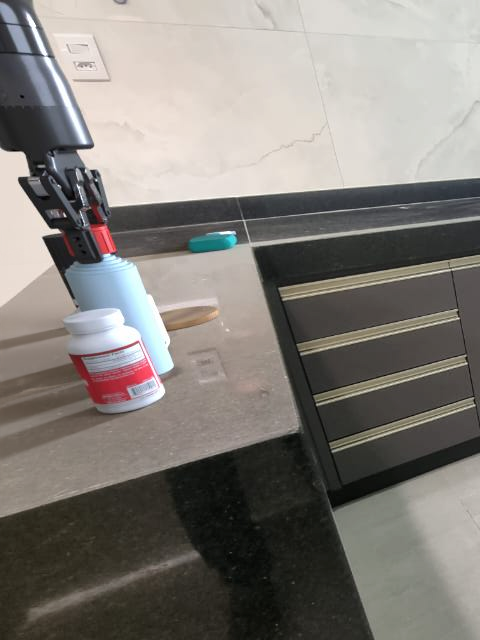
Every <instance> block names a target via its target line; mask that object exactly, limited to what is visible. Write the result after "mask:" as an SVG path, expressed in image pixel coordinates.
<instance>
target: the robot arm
mask: <svg viewBox="0 0 480 640" xmlns="http://www.w3.org/2000/svg"><path fill="white" fill-rule="evenodd" d="M83 115H84V114H83V113H82V111H81V108H80V106H79V103H78V101H77V99H76V96H75V93H74V91H73V89H72V86H71V84H70V82H69V80H68V78H67V76H66V75H65V73H64V71H63V69H62V68H61V66H60V64H59V62H58V60H57V58H56V55H55V53H54V50H53V48H52V45H51V42H50V40H49V38H48V36H47V33H46V30H45V29H44V26H43V24H42V22H41V19H40V18H39V16H38V14H37V12H36V9H35V4H34V0H0V149H1V150H2V151H4V152H6V153H7V152H8V153H19V152H20V153H23V154H24V155H25V159H26V164H27V168H28V174H29V176H18V177H17V183H18V184H19V186H20V187H21V189H22V191H23V192H24V194H26V196H27V198H28V199H29V201H30V202H31V204H32V205H33V206H34V208H35V209H36V211H37V212H38V214H39V215H40V217H41V218H42V219H43V222H44V223H45V224H46V225H47V227H48V228H49V229H50V230H57V231H59V233H64V232H65V236H66V238H67V240H68V242H69V244H70V246H71V249H72V251H73V253H74V255H75V257H76V259H77V261H78V262H79V263H80V264H94V263H100V262H102V261H103V260H104V257H103V255H102V252H101V250H100V248H99V246H98V243H97V241H96V239H95V237H94V234H93V232H92V230H91V227H90V224H104V225H108V223H109V222H108V221H109V220H108V218H111V217H112V212H111V210H110V209H111V208H110V205H109V202H108V198H107V194H106V191H105V187H104V184H103V183H104V182H103V180H102V174H101V173H100V171H99V170H98V169H90V168H89V167H88V166H86V164H85V163H84V161H83V160H82V158H81V156H80V154H79V153H78V151H81V150H82V151H83V150H84V151H85V150H92V149H94V147H95V143H94V140H93V137H92V135H91V132H90V130H89V127H88V125H87V123H86V120H85V118H84V116H83ZM90 230H91V231H90ZM110 254H112V255H115V256H117V254H118V250H117V249H116V251H115V252H113V253H110Z"/></svg>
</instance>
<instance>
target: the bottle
mask: <svg viewBox="0 0 480 640" xmlns="http://www.w3.org/2000/svg"><path fill="white" fill-rule="evenodd" d="M103 257H104V260H103V261H102V262H100V263H94V264H80V263H79V262H78V261H76V262H74V263H73V265H71V266H70V268H68V269H67V270H66V273H65V276H66V279H67V281H68V283H69V285H70V288H71V290H72V292H73V294H74V297H75V299H76V301H77V304H78V306H79V308H80V310H81V312H85V311H90V310H96V309H105V308H116V309H119V310H120V312H121V314H122V316H123V318H124V323H123V325H124V326H128V327H131V328H134V329H135V330H137V331H138V332H139V334H140V336H141V338H142V340H143V342H144V345H145V347H146V349H147V351H148V354H149V356H150V358H151V360H152V362H153V365H154V367H155V369H156V371H157V373H158V376H161V375H163V374H166V373H168V372H169V371H171V370H173V368H174V367H175V365H174V362H173V360H172V357H171V354H170V352H169V350H168V347H167V346H166V344H165V341H164V338H163V336H162V333H161V331H160V328H159V325H158V323H157V320H156V317H155V315H154V312H153V310H152V307H151V304H150V302H149V299H148V297H147V291H146V288H145V287H144V284H143V280H142V278H141V275H140V273H139V271H138V268H137V266H136V264H134V263H133V262H132V261H129V260H127V259H126V258H121V257H120V256H116V255H112V254H110V253H109V254H103Z"/></svg>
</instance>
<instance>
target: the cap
mask: <svg viewBox="0 0 480 640" xmlns="http://www.w3.org/2000/svg"><path fill="white" fill-rule="evenodd" d="M90 227H91V230H92V232H93V234H94V237H95V239H96V241H97V243H98V246H99V248H100V250H101V252H102V255H103V254H109V253H113V252H115V251H116V250H117V247H116V245H115V242H114V240H113V237H112V234H111V231H110V230H109V229H108V226H107V224H90ZM91 230H90V231H91ZM62 236H63V238H64V240H65V243H66V245H67V247H68V250H69V252H70V254H71V255H72V256H75V255H74V253H73V251H72V249H71V246H70V244H69V242H68V240H67V238H66V236H65V232H64V233H62Z"/></svg>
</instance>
